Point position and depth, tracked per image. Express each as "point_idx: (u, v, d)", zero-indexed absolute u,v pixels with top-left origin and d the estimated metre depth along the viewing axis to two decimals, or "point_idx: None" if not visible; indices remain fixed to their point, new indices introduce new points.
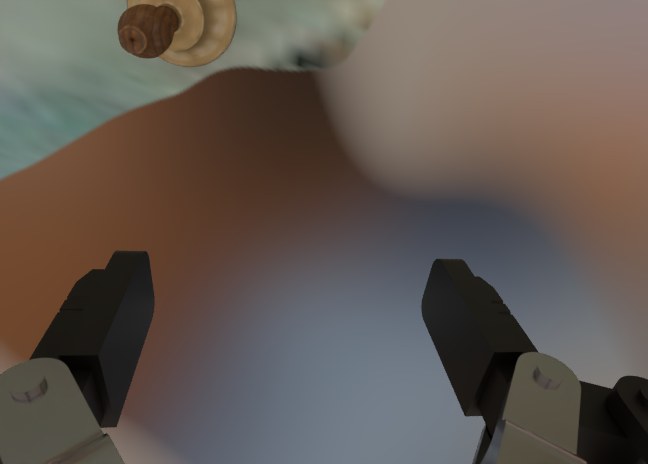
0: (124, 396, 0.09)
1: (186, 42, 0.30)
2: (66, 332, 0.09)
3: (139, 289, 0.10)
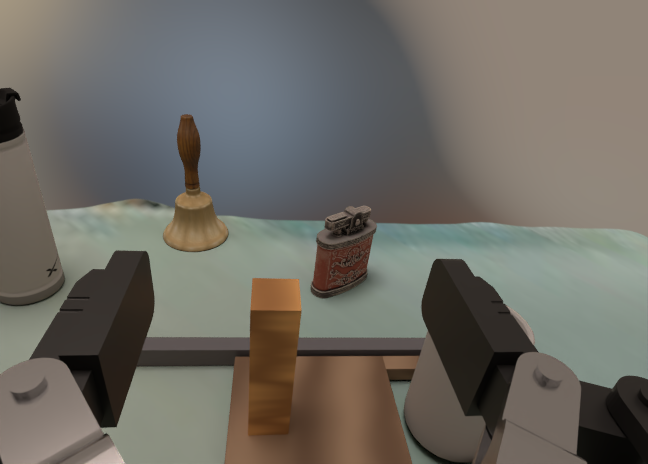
0: (124, 396, 0.09)
1: None
2: (66, 332, 0.09)
3: (139, 289, 0.10)
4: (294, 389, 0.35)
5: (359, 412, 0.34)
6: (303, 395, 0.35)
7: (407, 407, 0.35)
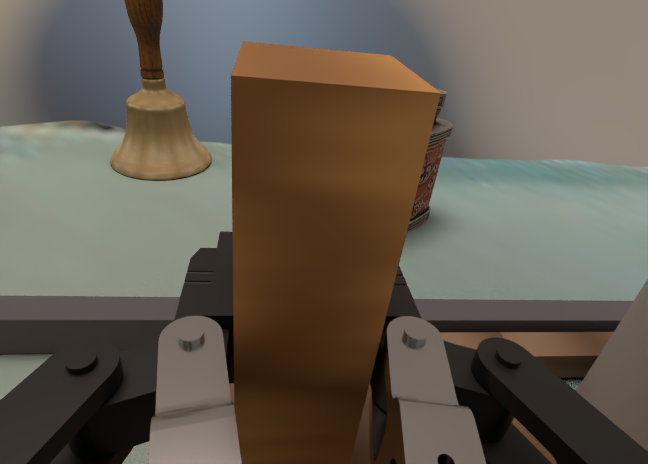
0: None
1: None
2: (196, 299, 0.10)
3: None
4: None
5: None
6: None
7: None
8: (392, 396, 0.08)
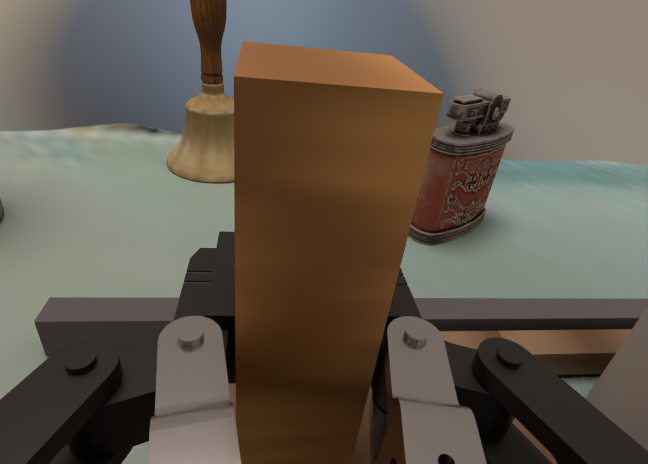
0: None
1: None
2: (196, 299, 0.10)
3: None
4: None
5: None
6: None
7: None
8: (392, 396, 0.08)
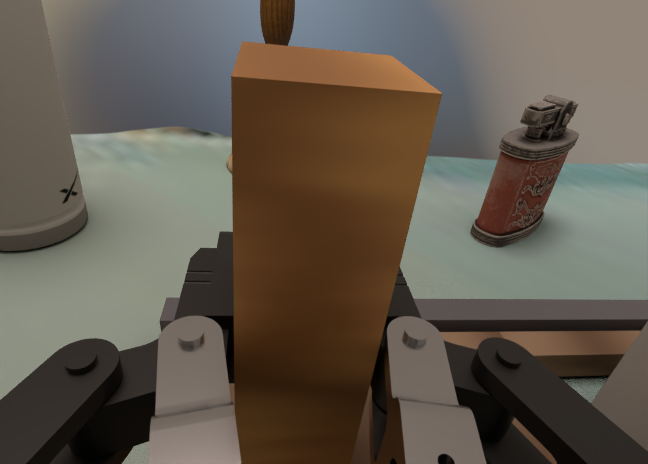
0: None
1: None
2: (196, 299, 0.10)
3: None
4: None
5: None
6: None
7: None
8: (392, 396, 0.08)
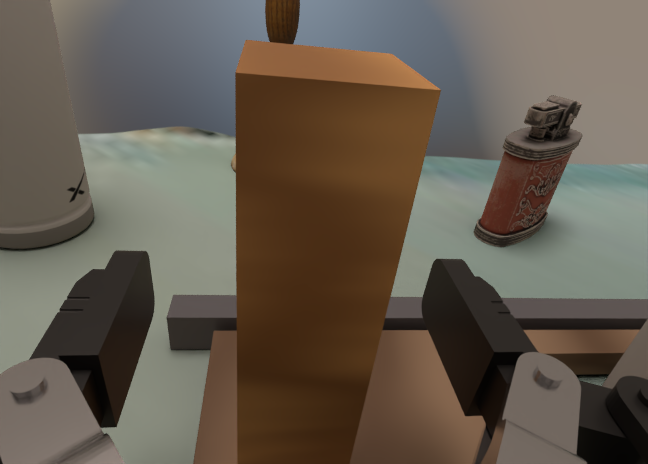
0: (124, 396, 0.09)
1: None
2: (65, 332, 0.09)
3: (139, 289, 0.10)
4: None
5: None
6: None
7: None
8: (502, 419, 0.07)
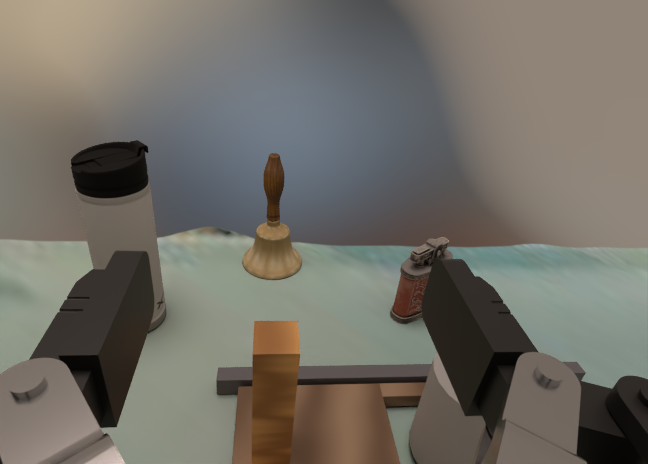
0: (124, 396, 0.09)
1: None
2: (66, 332, 0.09)
3: (139, 289, 0.10)
4: (295, 418, 0.37)
5: (357, 440, 0.36)
6: (303, 424, 0.37)
7: (413, 441, 0.36)
8: (502, 419, 0.07)
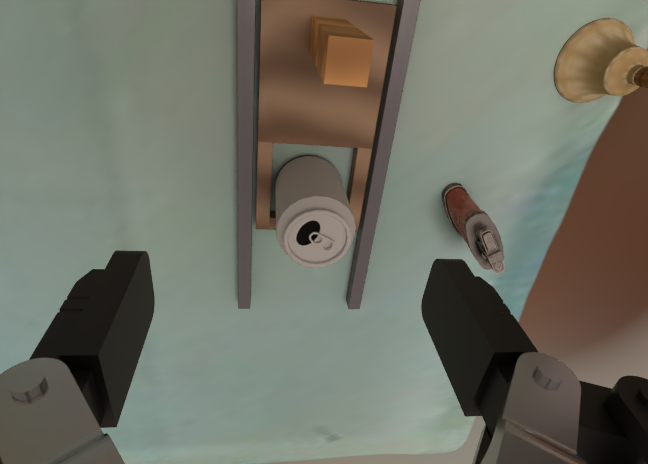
0: (124, 396, 0.09)
1: None
2: (66, 332, 0.09)
3: (139, 289, 0.10)
4: None
5: (321, 114, 0.42)
6: None
7: (312, 160, 0.45)
8: (502, 419, 0.07)
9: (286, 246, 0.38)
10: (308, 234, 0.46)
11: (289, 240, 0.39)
